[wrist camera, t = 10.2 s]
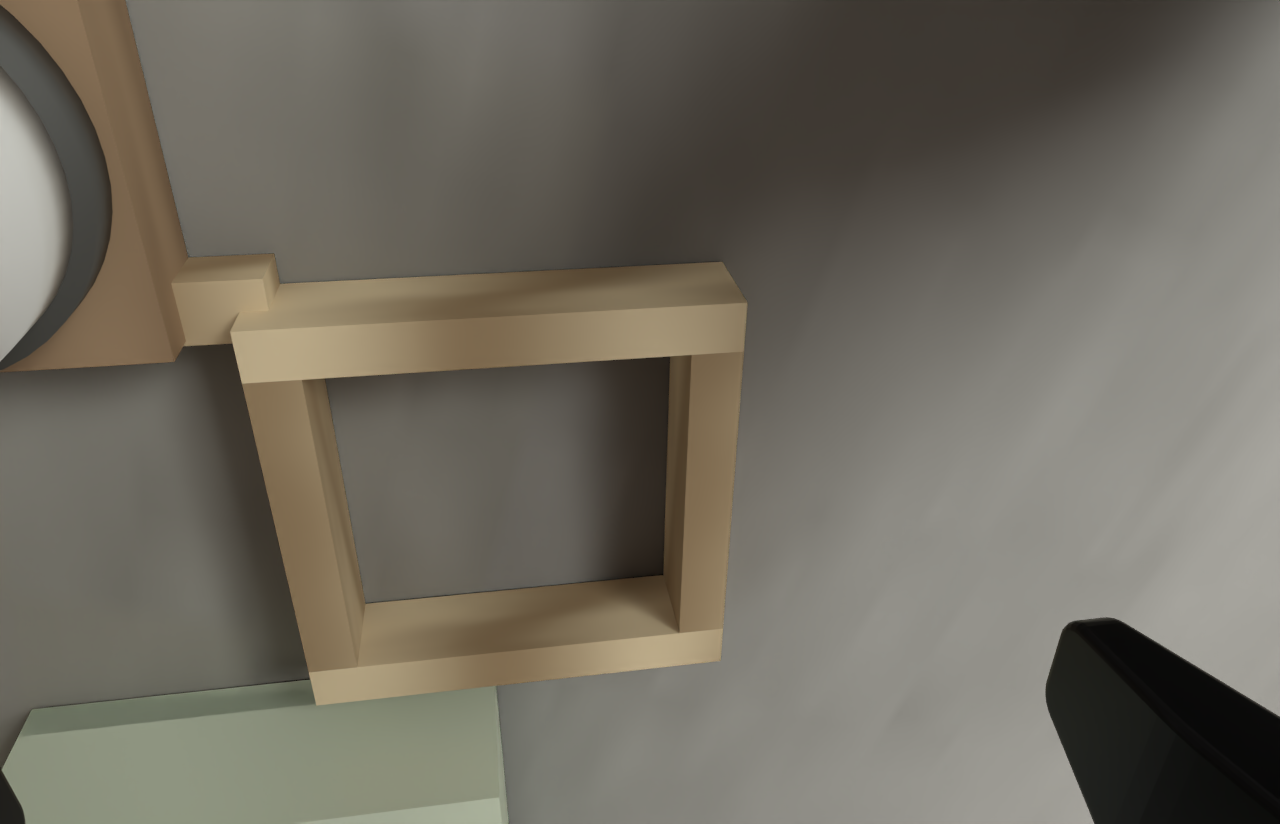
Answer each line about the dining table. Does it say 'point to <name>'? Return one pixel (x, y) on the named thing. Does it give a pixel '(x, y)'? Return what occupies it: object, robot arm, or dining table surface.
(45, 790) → the tray
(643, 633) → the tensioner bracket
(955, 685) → the dining table surface
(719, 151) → the dining table surface
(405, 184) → the dining table surface
